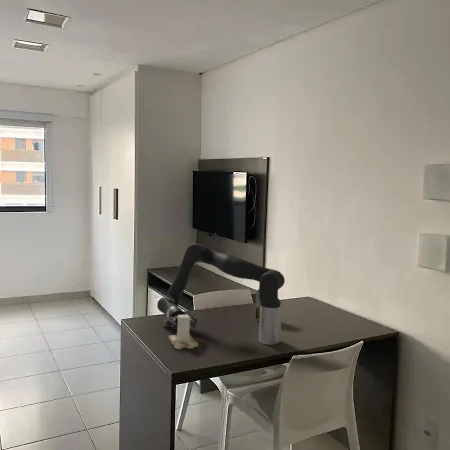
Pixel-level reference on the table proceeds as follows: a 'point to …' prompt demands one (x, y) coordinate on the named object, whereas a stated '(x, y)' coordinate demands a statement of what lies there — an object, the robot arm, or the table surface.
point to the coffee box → (257, 306)
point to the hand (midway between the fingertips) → (185, 326)
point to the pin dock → (185, 344)
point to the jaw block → (183, 328)
